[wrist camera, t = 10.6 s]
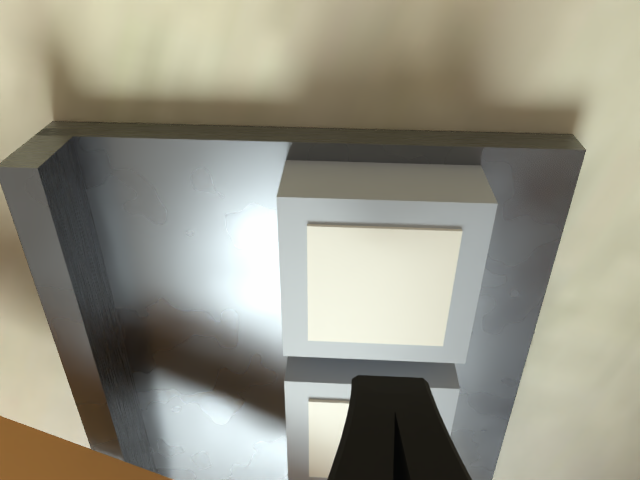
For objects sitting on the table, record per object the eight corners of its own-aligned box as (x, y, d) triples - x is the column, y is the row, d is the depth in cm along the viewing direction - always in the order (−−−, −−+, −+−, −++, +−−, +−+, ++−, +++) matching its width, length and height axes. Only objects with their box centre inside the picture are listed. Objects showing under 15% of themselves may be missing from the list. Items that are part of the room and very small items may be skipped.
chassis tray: (572, 134, 15) (627, 197, 12) (472, 510, 24) (488, 598, 21) (52, 121, 15) (-20, 178, 12) (151, 493, 25) (124, 577, 22)
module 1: (481, 165, 14) (498, 205, 12) (454, 315, 17) (465, 366, 15) (285, 160, 14) (275, 199, 13) (290, 309, 17) (282, 358, 15)
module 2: (450, 340, 17) (460, 391, 16) (431, 442, 20) (438, 496, 18) (290, 333, 18) (283, 383, 16) (294, 435, 20) (288, 488, 19)
